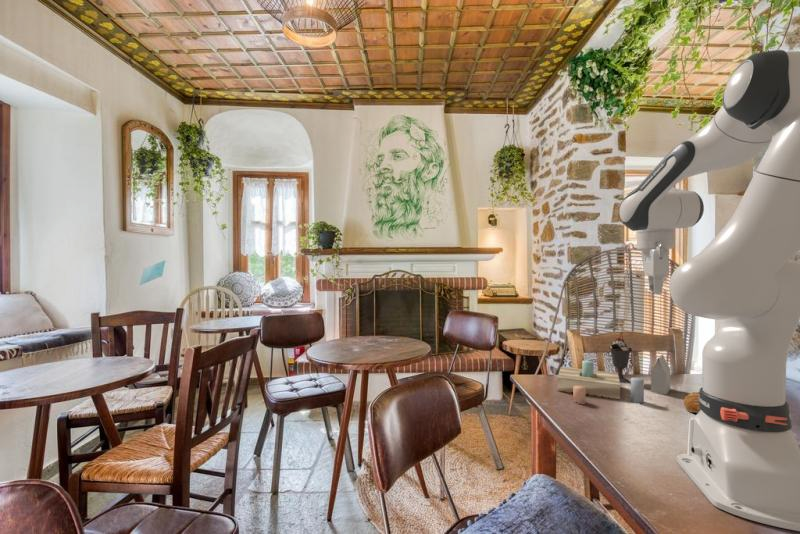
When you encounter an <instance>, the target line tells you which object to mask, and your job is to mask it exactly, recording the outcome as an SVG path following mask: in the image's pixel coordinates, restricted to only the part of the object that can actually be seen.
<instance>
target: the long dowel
mask: <svg viewBox="0 0 800 534" xmlns="http://www.w3.org/2000/svg"><path fill="white" fill-rule="evenodd" d="M581 369H582V377H591V378H593V370H594V361H592V360H582V361H581Z"/></svg>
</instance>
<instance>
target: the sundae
mask: <svg viewBox="0 0 800 534" xmlns="http://www.w3.org/2000/svg"><path fill="white" fill-rule="evenodd" d="M619 333H620V335H619V337H617V338H616V339H615V340H614V341H613V343H612V344H610V346H609V347H608V349H609V350H610V353H611V354H610V355H611V360H612V365H613V366H614V367H615V368H616V369H617V373H618V376H619V381H620V383H629V382H630V379H628V378H627V377H626V378H625V377H624V374H623V370H624V369H626V368H627V367H628V365H629V358H630V353H631V352H633V348H631V347H629V345H628V344H627V343H626V341H625V339H624V336H623V331H621V332H619Z"/></svg>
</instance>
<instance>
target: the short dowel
mask: <svg viewBox="0 0 800 534" xmlns="http://www.w3.org/2000/svg"><path fill="white" fill-rule="evenodd" d="M572 395H573V397H572V398H573V401H574V402H577V403H585V402H586V403H587V401H586V389H585V387H583V386H573V394H572ZM573 401H572V402H573ZM574 402H573V403H574ZM577 403H576V404H577ZM586 403H585V404H586Z"/></svg>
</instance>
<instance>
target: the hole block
mask: <svg viewBox="0 0 800 534" xmlns="http://www.w3.org/2000/svg"><path fill="white" fill-rule="evenodd" d="M557 375H558V376H557V391H558V392H563V391H566V392H565V393H571V392H573V386H583V387H585V389H586V394H589V395H588V396H593V395H597V396H596V397H601V396H603V397H602V398H608V397H609V398H610V399H618V400H621V382H620V381H619V376H618V372H612V371H601V370H594V369H593V378H591V377H582V368H574V367H573V368H572V367H563V366H560V368H559V371H558V374H557Z"/></svg>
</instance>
